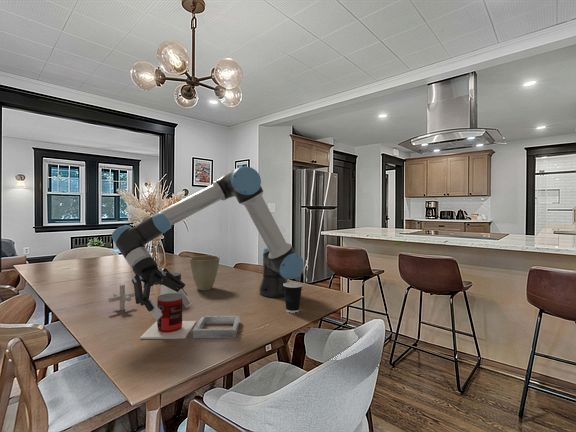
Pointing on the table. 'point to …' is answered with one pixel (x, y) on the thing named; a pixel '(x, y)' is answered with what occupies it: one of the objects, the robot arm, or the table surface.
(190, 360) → the table surface
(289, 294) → the dixie cup
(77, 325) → the table surface
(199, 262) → the plant pot
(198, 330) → the square frame
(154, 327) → the tile
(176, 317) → the canned food
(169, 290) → the jar
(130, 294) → the light grey toy jack
